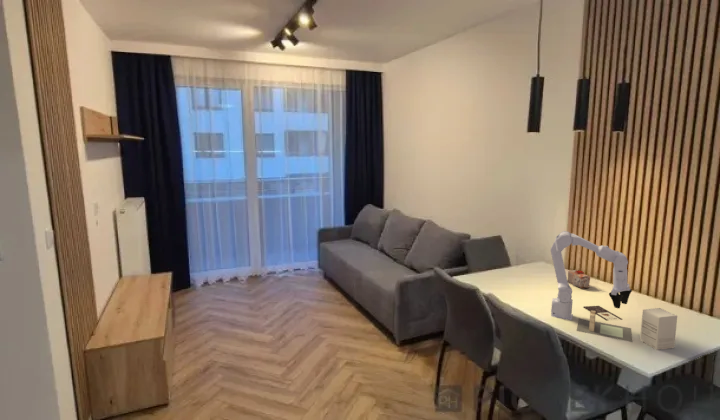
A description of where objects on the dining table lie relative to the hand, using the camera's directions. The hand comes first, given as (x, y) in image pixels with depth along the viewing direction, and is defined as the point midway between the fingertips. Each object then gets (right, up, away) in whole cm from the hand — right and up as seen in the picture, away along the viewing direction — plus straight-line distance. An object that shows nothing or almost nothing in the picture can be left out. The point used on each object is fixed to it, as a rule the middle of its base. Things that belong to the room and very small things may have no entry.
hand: (620, 305), depth 193 cm
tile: (-15, -11, -2) cm, 19 cm away
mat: (-10, -11, -3) cm, 15 cm away
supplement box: (+5, -13, -17) cm, 22 cm away
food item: (+11, -2, +59) cm, 60 cm away
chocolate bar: (+1, -9, +16) cm, 18 cm away
